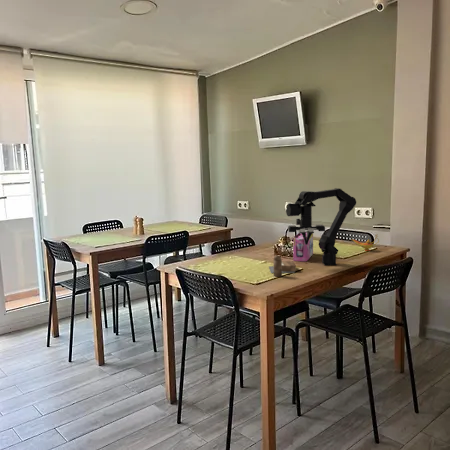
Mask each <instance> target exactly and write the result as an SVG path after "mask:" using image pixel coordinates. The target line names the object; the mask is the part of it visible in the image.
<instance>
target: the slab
mask: <svg viewBox="0 0 450 450" xmlns="http://www.w3.org/2000/svg"><path fill="white" fill-rule="evenodd" d="M282 271H294V272H296V271H297V266H296V263H295V261H293V260H292V261H291V260H287V261H286V260H284V261H283V260H282Z"/></svg>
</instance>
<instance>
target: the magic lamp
mask: <svg viewBox="0 0 450 450" xmlns="http://www.w3.org/2000/svg"><path fill="white" fill-rule="evenodd" d="M374 235H375V237H374V241H373V242H371V240H370V239H367V240H366V242H360V241H358V240H356V239H354V238H351V239H350V240H351V241H352V242H354V243H355V244H356V245H358V246H359V247H361V248H363V249H364V250H365V251H371V248H374V246H375V245H376V244H378V243H379V242H380V239H379V238H378V237H379V236H378V234H374ZM376 240H377V242H376ZM375 242H376V243H375Z"/></svg>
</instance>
